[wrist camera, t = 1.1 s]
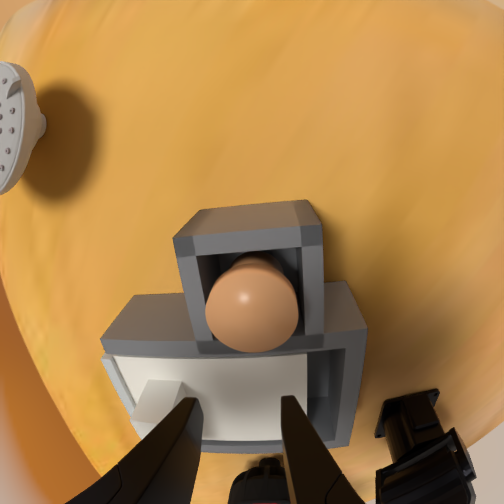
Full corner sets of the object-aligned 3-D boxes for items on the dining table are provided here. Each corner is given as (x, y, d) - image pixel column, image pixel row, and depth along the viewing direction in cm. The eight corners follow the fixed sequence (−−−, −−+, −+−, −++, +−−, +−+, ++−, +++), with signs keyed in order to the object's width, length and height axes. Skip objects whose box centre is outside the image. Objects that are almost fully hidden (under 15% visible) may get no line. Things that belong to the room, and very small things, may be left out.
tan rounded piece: (294, 305, 18) (299, 349, 14) (225, 310, 18) (214, 354, 14) (290, 238, 17) (296, 270, 13) (214, 245, 17) (197, 277, 13)
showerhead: (36, 145, 12) (-35, 227, 14) (103, 139, 18) (25, 202, 20) (5, 24, 9) (-63, 121, 11) (67, 43, 16) (-5, 115, 17)
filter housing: (338, 395, 25) (348, 445, 19) (171, 400, 27) (155, 447, 21) (344, 196, 19) (373, 220, 13) (115, 221, 20) (69, 249, 15)
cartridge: (303, 398, 24) (309, 478, 16) (157, 398, 25) (130, 468, 17) (301, 313, 21) (313, 402, 13) (127, 321, 22) (78, 392, 14)
